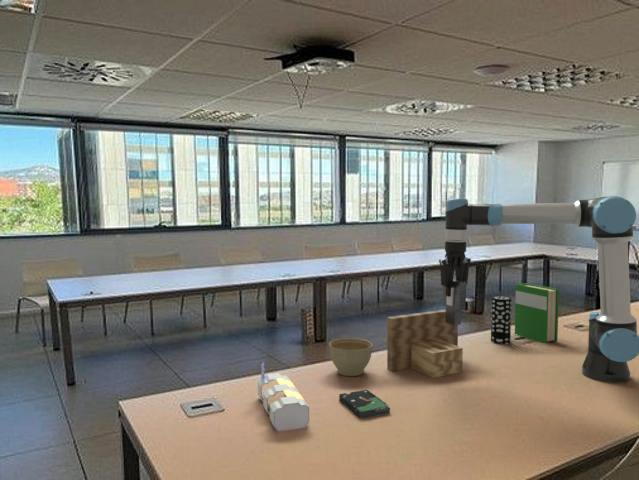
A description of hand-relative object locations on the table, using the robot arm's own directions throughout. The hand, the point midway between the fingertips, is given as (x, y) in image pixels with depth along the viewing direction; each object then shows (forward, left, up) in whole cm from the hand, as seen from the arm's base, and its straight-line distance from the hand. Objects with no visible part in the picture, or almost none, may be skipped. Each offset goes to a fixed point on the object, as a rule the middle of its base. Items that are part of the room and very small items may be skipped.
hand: (453, 304), depth 181 cm
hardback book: (-66, -18, -26) cm, 73 cm away
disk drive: (+45, +11, -26) cm, 54 cm away
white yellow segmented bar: (+69, +2, -26) cm, 74 cm away
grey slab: (0, 0, -7) cm, 7 cm away
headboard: (+3, -6, -26) cm, 27 cm away
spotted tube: (-47, -21, -26) cm, 57 cm away
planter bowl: (+33, -18, -26) cm, 46 cm away
